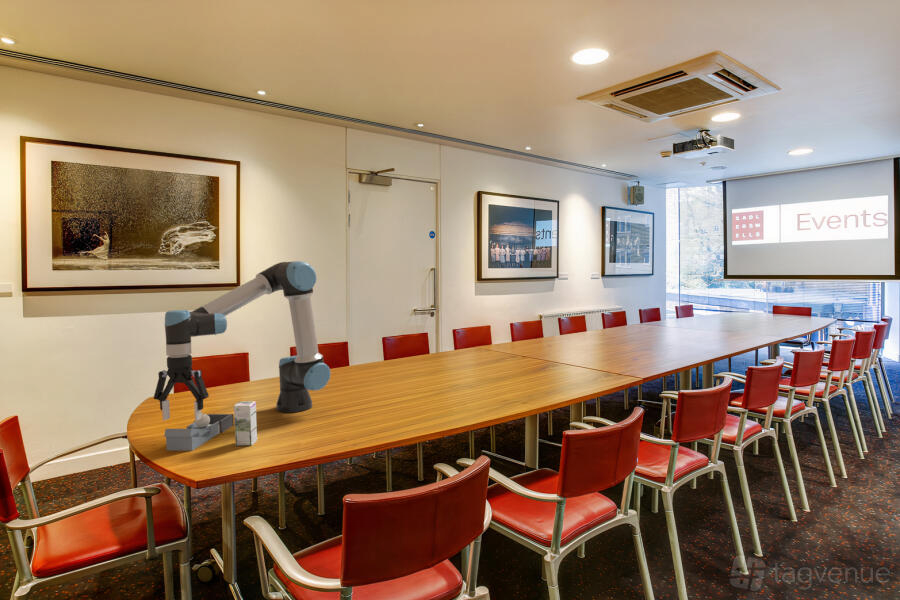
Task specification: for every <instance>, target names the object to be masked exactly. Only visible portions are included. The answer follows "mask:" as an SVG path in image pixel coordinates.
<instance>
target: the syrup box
mask: <svg viewBox="0 0 900 600" xmlns="http://www.w3.org/2000/svg"><path fill="white" fill-rule="evenodd" d="M233 420H234V439H235V446H236V447H244V446H245V447H246V446H248V447H249V446H253V445H255V443H256V442H257V441H258V433H257V432H258V431H257V429H258V427H257V403H256V401H255V400H253V401H239V402H237V403H235V404H234V405H233Z"/></svg>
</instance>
